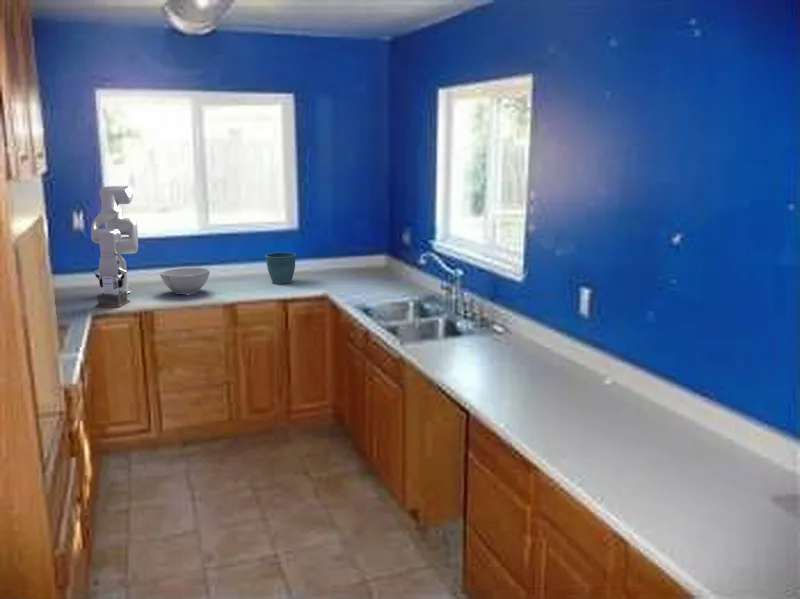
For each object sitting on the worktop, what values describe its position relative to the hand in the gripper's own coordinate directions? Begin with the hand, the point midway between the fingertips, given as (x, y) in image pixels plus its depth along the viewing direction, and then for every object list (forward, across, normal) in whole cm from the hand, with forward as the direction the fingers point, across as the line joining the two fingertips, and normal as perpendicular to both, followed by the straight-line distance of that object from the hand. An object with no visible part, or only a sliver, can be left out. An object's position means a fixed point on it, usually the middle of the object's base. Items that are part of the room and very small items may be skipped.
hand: (111, 287), depth 375 cm
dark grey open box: (+9, 0, 0) cm, 9 cm away
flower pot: (+10, -75, -63) cm, 98 cm away
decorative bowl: (+10, -28, -31) cm, 43 cm away
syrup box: (+8, 0, 0) cm, 9 cm away
